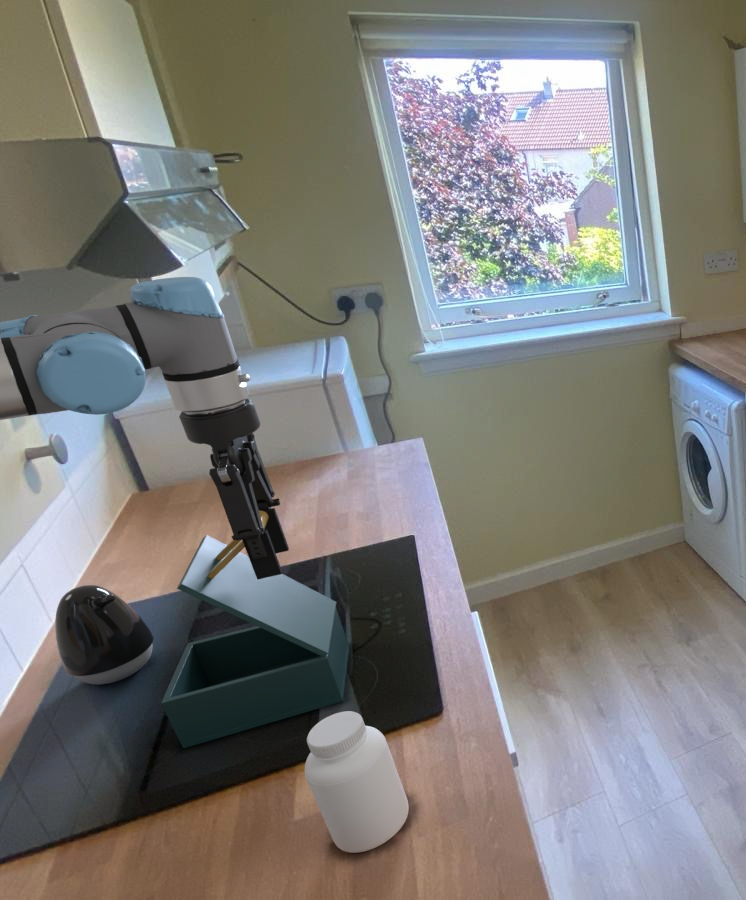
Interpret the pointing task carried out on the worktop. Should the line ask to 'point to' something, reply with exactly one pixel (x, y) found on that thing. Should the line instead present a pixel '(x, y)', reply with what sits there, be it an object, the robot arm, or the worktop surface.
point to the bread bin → (251, 682)
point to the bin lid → (259, 595)
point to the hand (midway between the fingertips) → (273, 563)
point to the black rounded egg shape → (100, 636)
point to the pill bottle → (355, 782)
